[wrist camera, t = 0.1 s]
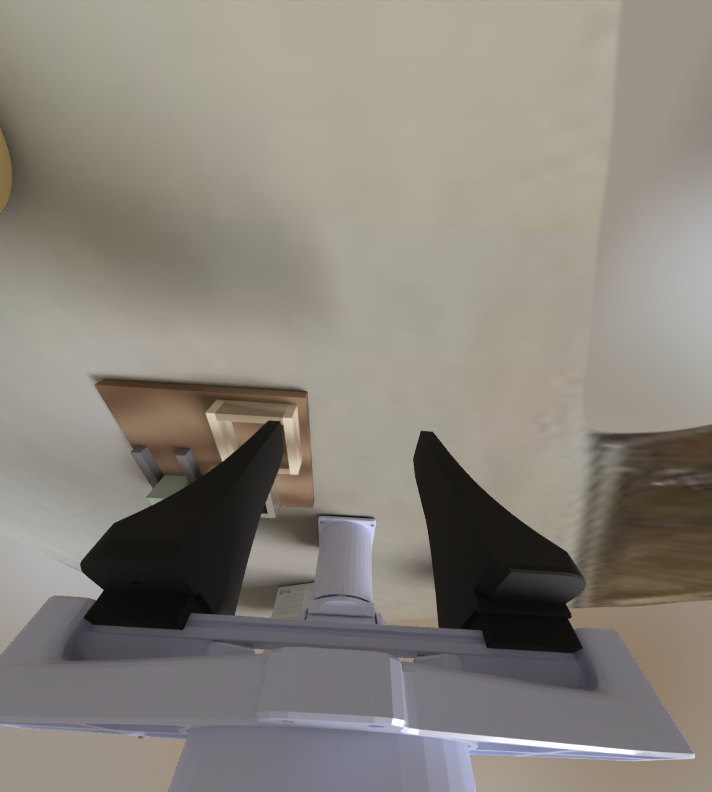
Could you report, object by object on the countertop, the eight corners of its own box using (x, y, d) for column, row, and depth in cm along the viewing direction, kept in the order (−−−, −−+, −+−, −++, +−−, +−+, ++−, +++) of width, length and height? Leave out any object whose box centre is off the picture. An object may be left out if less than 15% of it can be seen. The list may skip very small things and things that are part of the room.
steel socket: (280, 503, 32) (275, 518, 30) (226, 499, 32) (218, 514, 30) (273, 466, 28) (267, 481, 26) (212, 463, 28) (202, 477, 26)
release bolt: (200, 497, 31) (186, 520, 29) (176, 495, 31) (160, 518, 29) (190, 476, 29) (174, 499, 27) (164, 474, 29) (146, 497, 27)
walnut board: (314, 500, 33) (311, 515, 31) (169, 492, 33) (158, 506, 31) (307, 391, 23) (303, 404, 22) (104, 379, 23) (84, 390, 22)
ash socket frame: (302, 459, 27) (298, 475, 25) (234, 455, 27) (225, 470, 25) (297, 404, 23) (291, 418, 21) (216, 399, 23) (205, 412, 21)
